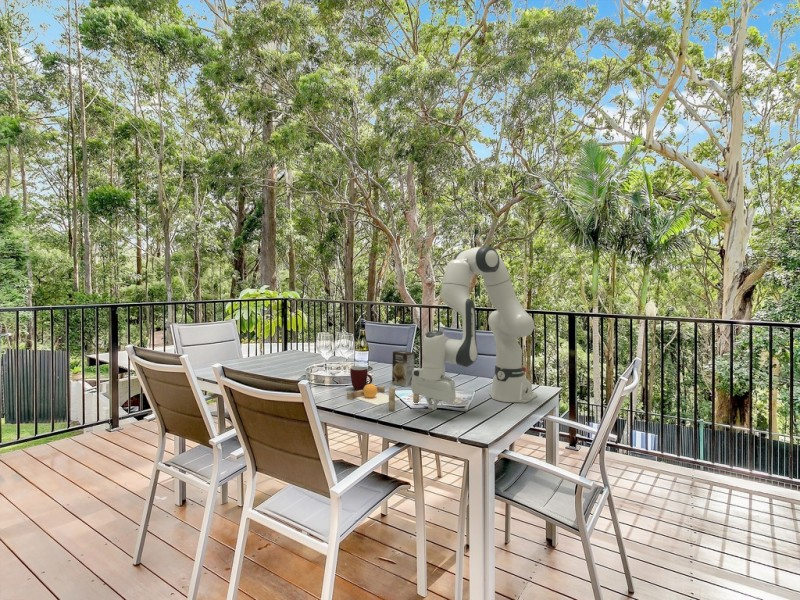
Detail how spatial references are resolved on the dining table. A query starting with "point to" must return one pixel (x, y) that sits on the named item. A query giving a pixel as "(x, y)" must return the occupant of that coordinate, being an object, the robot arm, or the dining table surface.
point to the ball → (370, 390)
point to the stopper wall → (360, 393)
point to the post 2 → (415, 398)
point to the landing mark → (377, 399)
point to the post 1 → (391, 399)
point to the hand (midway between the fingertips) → (432, 409)
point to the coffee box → (402, 368)
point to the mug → (359, 377)
